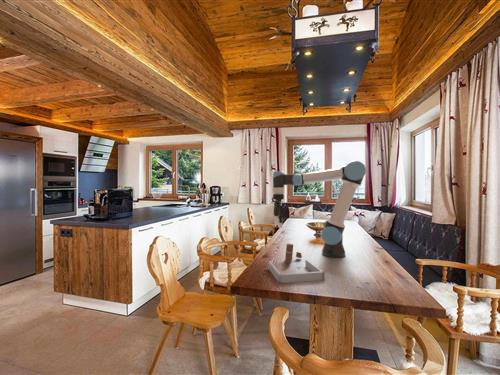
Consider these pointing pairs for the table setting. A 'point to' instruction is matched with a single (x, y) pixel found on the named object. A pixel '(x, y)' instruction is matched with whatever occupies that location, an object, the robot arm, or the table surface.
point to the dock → (298, 274)
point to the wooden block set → (290, 253)
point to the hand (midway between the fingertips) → (278, 226)
